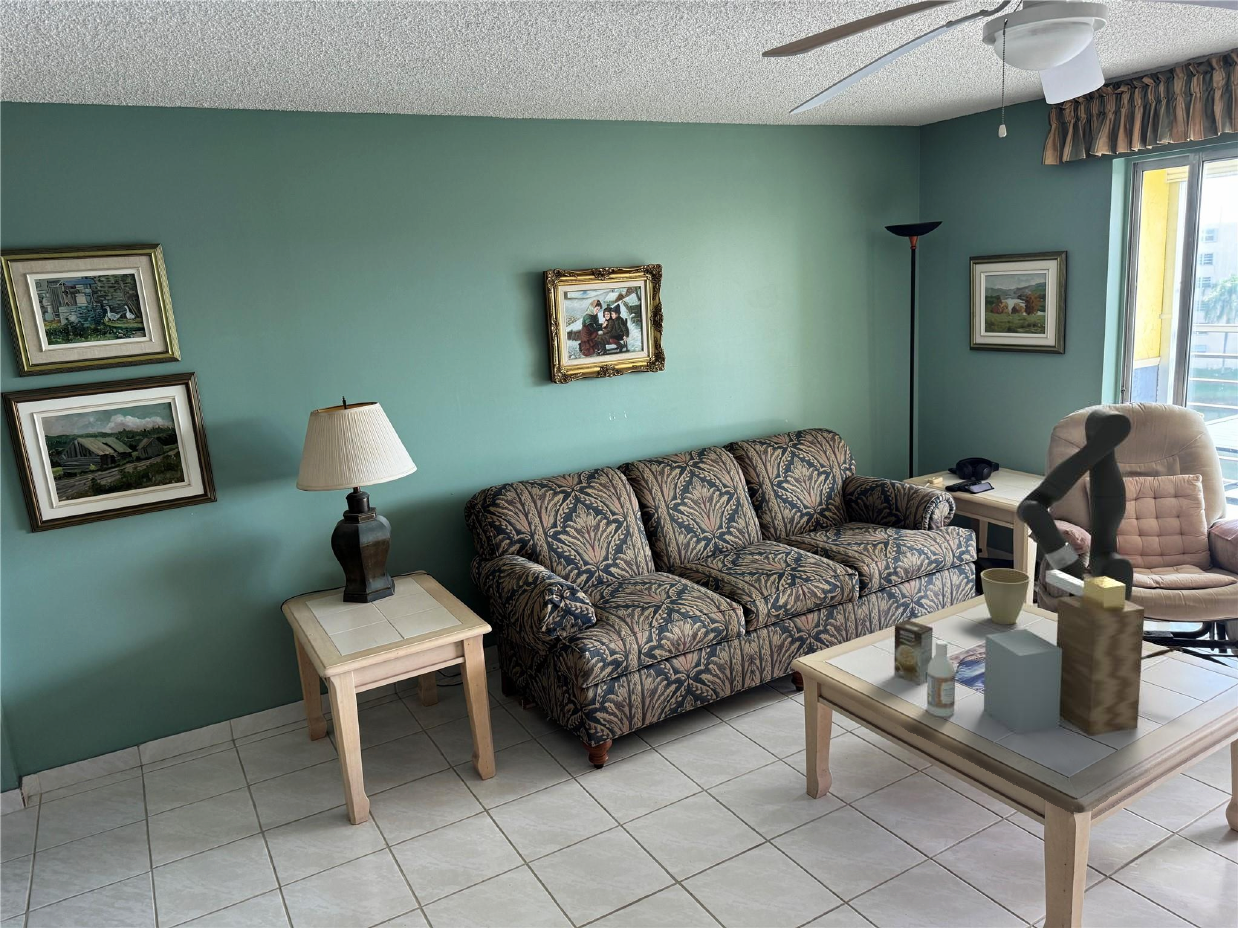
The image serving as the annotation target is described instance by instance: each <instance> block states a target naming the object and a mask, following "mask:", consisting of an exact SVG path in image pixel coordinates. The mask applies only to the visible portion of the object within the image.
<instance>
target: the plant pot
mask: <svg viewBox="0 0 1238 928" xmlns="http://www.w3.org/2000/svg"><path fill="white" fill-rule="evenodd" d="M980 577H981V578H980V579H981V585H982V586H981V587H982V591H983V596H984V600H985V603H986V607H987V610H988V613H989V616H990V618H991V620H992V621H993V622H994V623H996V624H999V625H1013V624H1015V623H1016V622H1017V620H1018V618H1019V616H1020V613H1021V610H1022V608H1023V607H1024V602H1025V600H1026V597H1027V593H1028V590H1029V585H1030V580H1031V577H1030V575H1029V574H1028V573H1026V572H1023V571H1020V570H1018V569H1012V568H1002V567H1001V568H989V569H985V570H983V571H982V572H981V573H980Z"/></svg>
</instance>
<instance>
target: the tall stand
mask: <svg viewBox="0 0 1238 928" xmlns="http://www.w3.org/2000/svg"><path fill="white" fill-rule="evenodd" d="M1057 603H1058V604H1057V622H1056V623H1057V627H1056V628H1057V629H1056V646H1057V647H1059V648H1061V649H1062V664H1061V688H1060V713H1059V718H1061V719H1063V720H1064V721H1066V722H1067V723H1069V724H1070V725H1072V726H1073V727H1075V728H1077V729H1078V730H1079V731H1081V732H1083V733H1084V734H1085V735H1087V737H1088V736H1089V737H1092V736H1097V735H1102V734H1110V733H1116V732H1121V731H1124V730H1130V729H1135V728H1138V726H1139V725H1138V722H1139V721H1138V720H1139V710H1140V709H1139V708H1140V707H1139V706H1140V705H1139V703H1140V693H1141V692H1140V690H1141V674H1142V672H1141V671H1142V660H1141V659H1142V657H1143V641H1144V640H1143V639H1144V627H1145V626H1144V623H1145V607H1142V606H1141V605H1138V604H1135V603H1134V602H1131V601H1126V600H1125V606H1124V608H1119V609H1113V610H1106V611H1103V610H1100V609H1098V608H1096V607H1094V606H1092V605H1089V604H1087V603H1085V602H1083V598H1081V597H1079V596H1077V595H1073V596H1066V597H1058V599H1057Z"/></svg>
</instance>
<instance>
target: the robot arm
mask: <svg viewBox="0 0 1238 928" xmlns="http://www.w3.org/2000/svg"><path fill="white" fill-rule="evenodd" d="M1131 430H1132V422H1131V420H1130V418H1129V417H1128V416H1127V415H1126V414H1125V413H1124V414H1123V413H1121V412H1119V411H1115V410H1110V409H1106V408H1105V409H1104V408H1097V409H1094V410H1093V411H1092V412H1090V413H1089V414H1088V416H1087V417H1086V419H1085V421H1084V433H1085V440H1086V443H1085V445H1083V446H1082V447H1081V448H1080V449H1079V450H1078V451H1076V452H1074V453H1073V454H1072V455H1070V456H1068V457H1067V458H1065V459H1063V461H1061V462H1059V464H1057V465H1055V467H1054V468H1052V470H1051V471H1050V472H1049V473H1048V475H1046V477H1045V478H1044V479H1043V480H1042V481H1041V483H1040V484H1039V485H1038V486H1037V487H1036V488H1035V489H1033V490H1032V491H1031V492H1030V493H1029V494H1027V496H1025V497H1024V498H1023V499H1022V500H1021V501H1020V503H1019V504H1018V506H1017V508H1016V517H1017V518H1018V520H1019V521H1020V522H1022V523H1024V524H1025V525H1026V526H1027V527H1028V528H1029V530H1030V531H1031V533H1032V534H1033V535H1034V540H1035V542H1036V543H1037V545H1038V546H1039V548H1040V549H1041V551H1042V553H1043V554H1044V556H1045V558H1046V560H1047V562H1048V563H1049V565H1050V566H1051V568H1052V570H1058V571H1060V572H1063V573H1065V574H1067V575H1070V576H1072V577H1074V578H1077V579H1079V580H1081V581H1084V579H1087V578H1086V577H1085V576H1083V574H1085V573H1086V571H1087V567H1086V565H1085V564H1084V562H1083V561H1082V559H1081V557H1080V556H1079V555H1078V554H1077V552H1076V550H1075V548H1073V546H1072V545H1071V544H1070V543H1069V541H1068V540H1067V539H1066V537H1065V536H1064V535H1063V533H1062V531H1060V529H1059V528H1058V527H1057V524H1056V522H1055V520H1054V518H1053V516H1052V514H1051V512H1050V511H1049V509H1050V508H1051V507H1052V506H1053V504H1055V503H1058V502H1060V501H1062V500H1063V498H1064V497H1065V496H1066V495H1067V494H1068V493H1069V492H1070V491H1071V490H1072V489H1073V487H1075V485H1076V484H1077V483H1078V481H1080V479H1082V477H1083V476H1084V475H1085V474H1087V473H1088V475H1089V476H1088V477H1089V479H1088V480H1089V481H1088V482H1089V492H1088V494H1089V496H1088V497H1089V513H1090V514H1089V515H1090V545H1089V554H1088V568H1089V571H1090V573H1091V575H1092V576H1093V578H1095V577H1102V576H1106V577H1108V578H1110V579H1113V580H1115V581H1118V582H1120V583H1123V584H1125V585H1126V588H1125V600H1126V601H1129V602H1131V598H1132V594H1133V586H1134V577H1135V576H1134V575H1135V574H1134V567H1133V566H1134V565H1133V564H1132V563H1131V561H1130V560H1129V559H1127V558H1126V557H1124V556H1123V555H1121V554H1119V549H1118V532H1119V528H1120V525H1121V523H1122V521H1123V519H1124V517H1125V515H1126V511H1127V489H1126V483H1125V480H1124V478H1123V474H1122V472H1121V469H1120V467H1119V465H1118V461H1117V458H1116V451H1115V450H1116V448H1117V447H1118V446H1119V445H1121V444H1122V443H1123V442H1124V441H1125V440H1126V439H1127V438H1128V437H1129V435H1130V434H1131Z"/></svg>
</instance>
